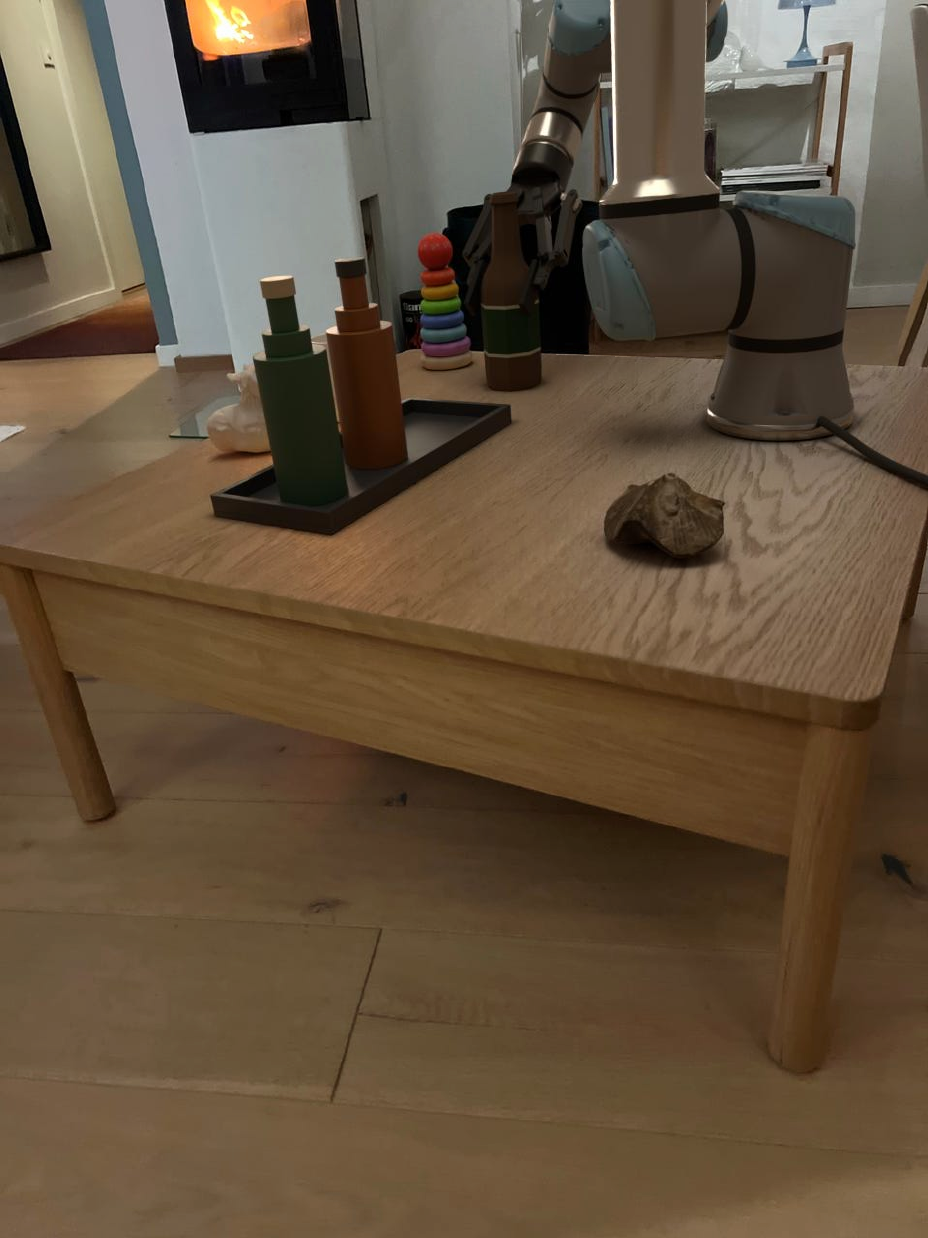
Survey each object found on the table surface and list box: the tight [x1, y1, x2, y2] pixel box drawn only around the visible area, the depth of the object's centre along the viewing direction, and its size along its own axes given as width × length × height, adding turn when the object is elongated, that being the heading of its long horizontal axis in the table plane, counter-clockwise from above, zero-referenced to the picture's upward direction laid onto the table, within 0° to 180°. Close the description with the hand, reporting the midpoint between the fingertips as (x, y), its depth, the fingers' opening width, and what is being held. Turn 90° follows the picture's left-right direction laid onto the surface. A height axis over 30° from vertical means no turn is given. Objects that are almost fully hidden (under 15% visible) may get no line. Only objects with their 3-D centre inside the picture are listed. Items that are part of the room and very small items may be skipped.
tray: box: [209, 397, 513, 536], centre depth 98 cm, size 36×15×2 cm, turn 150°
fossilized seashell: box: [603, 472, 726, 559], centre depth 73 cm, size 8×7×10 cm
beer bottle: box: [480, 190, 543, 392], centre depth 119 cm, size 8×8×24 cm
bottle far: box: [252, 275, 348, 506], centre depth 86 cm, size 7×7×20 cm
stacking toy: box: [417, 232, 474, 371], centre depth 134 cm, size 8×8×19 cm
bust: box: [206, 362, 271, 454], centre depth 105 cm, size 12×8×11 cm
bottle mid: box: [325, 256, 408, 470], centre depth 94 cm, size 7×7×20 cm
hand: (496, 309), depth 117 cm, fingers closed on beer bottle, 7 cm apart
